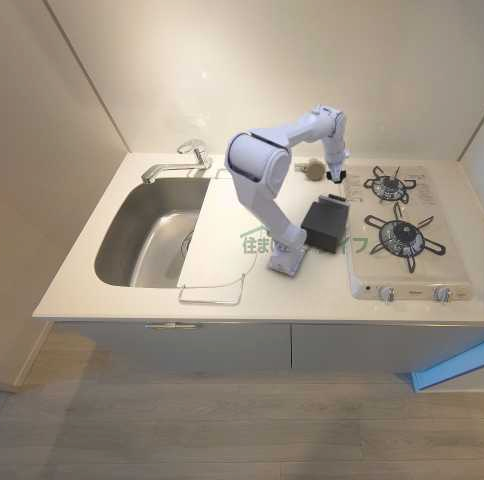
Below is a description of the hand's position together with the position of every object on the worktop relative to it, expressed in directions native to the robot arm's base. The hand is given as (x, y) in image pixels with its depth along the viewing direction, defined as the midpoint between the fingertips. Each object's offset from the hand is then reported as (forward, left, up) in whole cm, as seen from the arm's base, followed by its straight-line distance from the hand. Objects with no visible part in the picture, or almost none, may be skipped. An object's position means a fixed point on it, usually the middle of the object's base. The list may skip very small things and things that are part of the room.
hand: (337, 171), depth 82 cm
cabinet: (-15, -2, -14) cm, 21 cm away
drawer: (-8, -2, -13) cm, 16 cm away
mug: (+12, +12, -14) cm, 23 cm away
